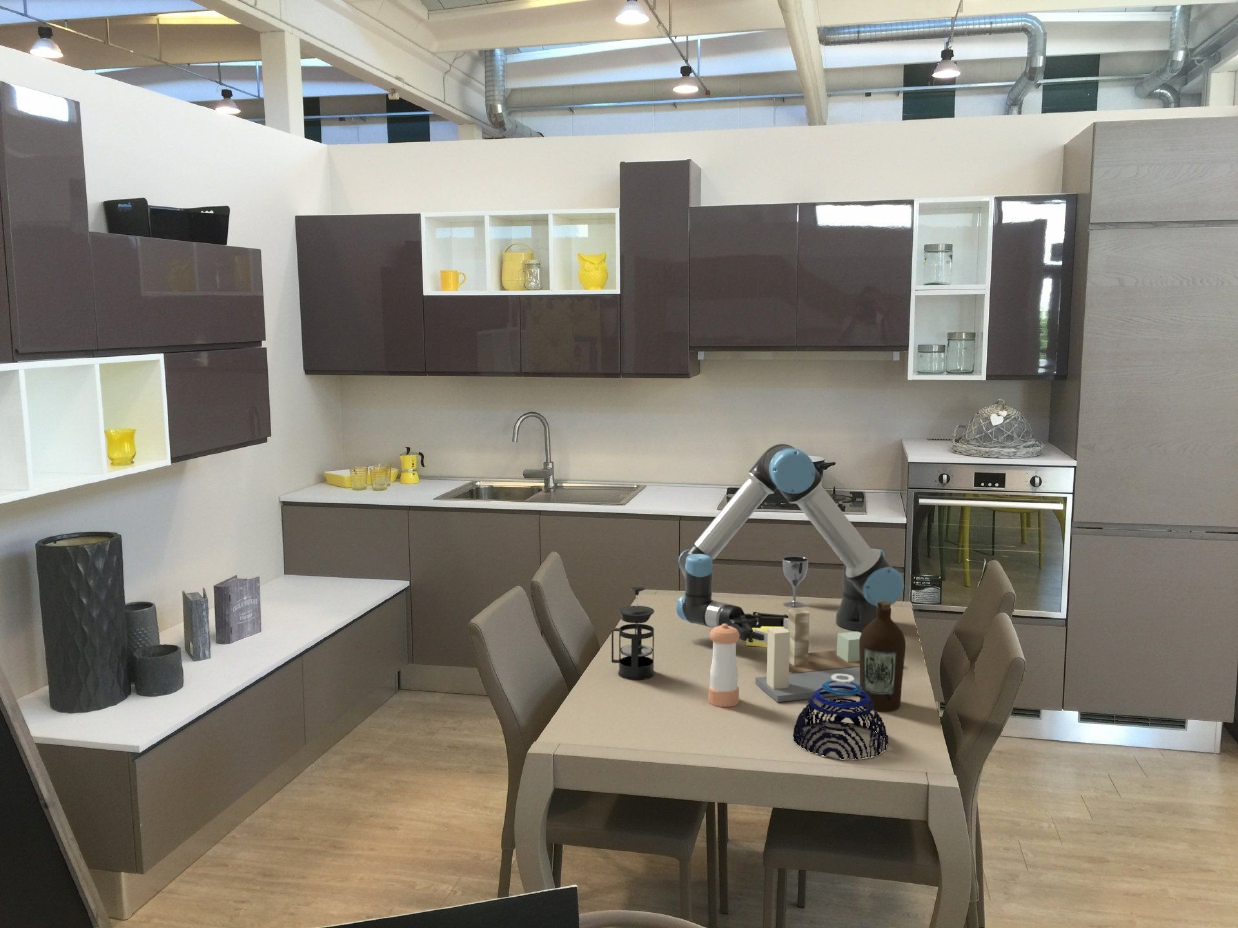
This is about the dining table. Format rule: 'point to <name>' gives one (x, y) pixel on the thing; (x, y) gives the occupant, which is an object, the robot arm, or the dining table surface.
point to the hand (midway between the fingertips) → (790, 633)
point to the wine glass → (795, 575)
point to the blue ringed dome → (840, 720)
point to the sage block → (848, 646)
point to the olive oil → (882, 660)
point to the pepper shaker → (724, 667)
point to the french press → (635, 642)
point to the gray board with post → (796, 684)
